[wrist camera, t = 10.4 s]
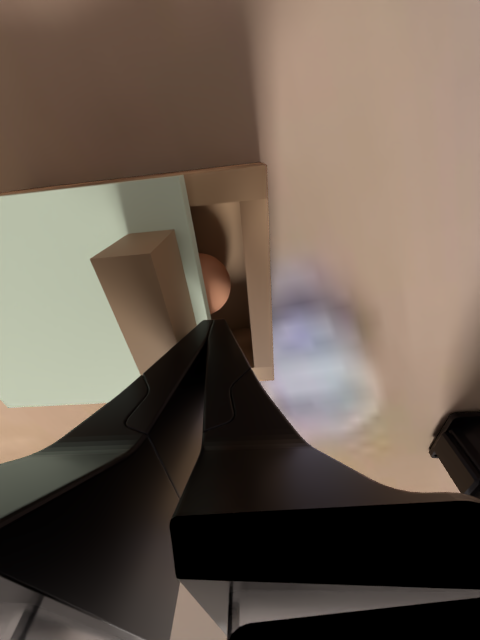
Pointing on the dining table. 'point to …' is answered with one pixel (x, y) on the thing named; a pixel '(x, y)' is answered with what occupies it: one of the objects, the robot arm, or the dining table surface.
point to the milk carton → (193, 620)
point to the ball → (215, 281)
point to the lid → (94, 288)
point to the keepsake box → (231, 248)
